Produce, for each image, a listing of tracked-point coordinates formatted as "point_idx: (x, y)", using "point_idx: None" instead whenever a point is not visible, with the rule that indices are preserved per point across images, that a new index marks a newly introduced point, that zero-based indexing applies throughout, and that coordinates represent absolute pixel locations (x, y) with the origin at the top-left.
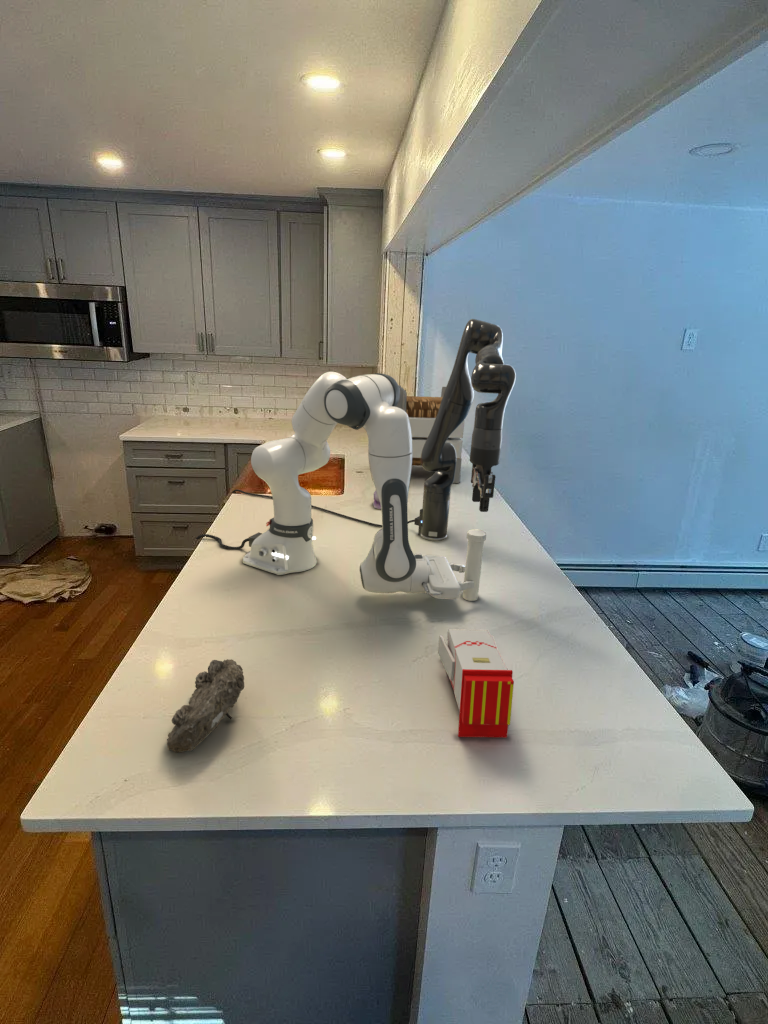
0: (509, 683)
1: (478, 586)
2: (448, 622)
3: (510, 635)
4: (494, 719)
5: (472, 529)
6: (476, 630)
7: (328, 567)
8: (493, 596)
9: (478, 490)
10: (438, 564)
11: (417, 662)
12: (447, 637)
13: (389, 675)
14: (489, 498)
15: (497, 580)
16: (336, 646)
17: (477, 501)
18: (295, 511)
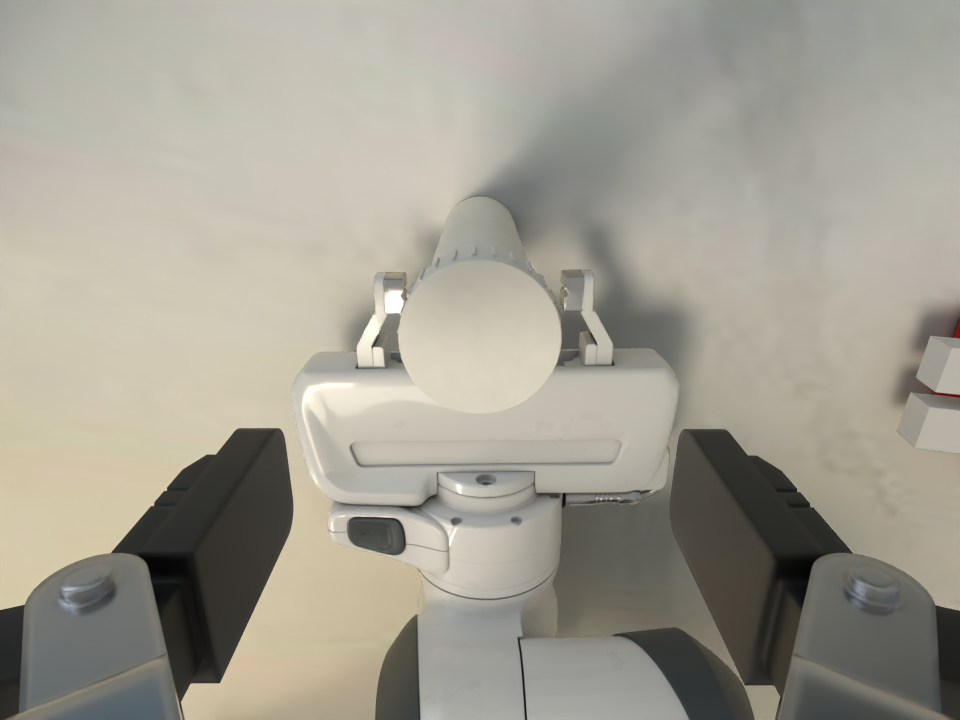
0: None
1: (505, 213)
2: (682, 367)
3: (825, 132)
4: None
5: (410, 362)
6: None
7: (249, 708)
8: (471, 109)
9: (221, 582)
10: (412, 431)
11: (903, 503)
12: (901, 435)
13: (941, 580)
14: (823, 550)
15: (287, 30)
16: (764, 690)
17: (285, 461)
18: None
